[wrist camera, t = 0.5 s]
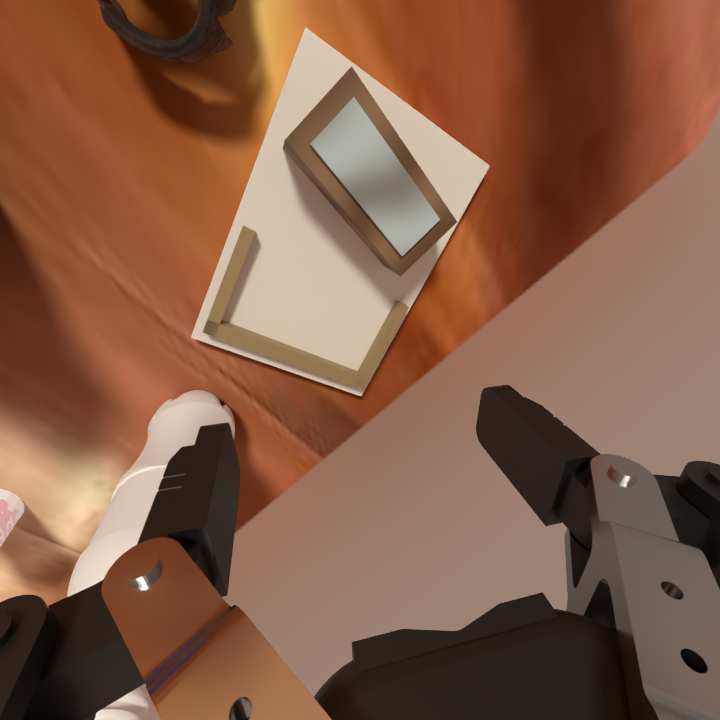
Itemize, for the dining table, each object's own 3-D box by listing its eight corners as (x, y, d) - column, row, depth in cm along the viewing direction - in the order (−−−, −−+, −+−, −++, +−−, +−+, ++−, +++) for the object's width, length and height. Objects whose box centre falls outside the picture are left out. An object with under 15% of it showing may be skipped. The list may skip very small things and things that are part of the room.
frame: (282, 148, 26) (284, 138, 22) (338, 86, 25) (352, 64, 21) (384, 265, 32) (402, 277, 27) (432, 218, 31) (459, 222, 26)
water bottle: (216, 370, 33) (111, 714, 11) (249, 427, 37) (219, 777, 15) (142, 399, 33) (-115, 814, 11) (183, 453, 36) (50, 855, 14)
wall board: (303, 34, 25) (307, 19, 23) (482, 166, 31) (497, 164, 29) (193, 332, 31) (187, 342, 29) (358, 390, 38) (363, 402, 36)
